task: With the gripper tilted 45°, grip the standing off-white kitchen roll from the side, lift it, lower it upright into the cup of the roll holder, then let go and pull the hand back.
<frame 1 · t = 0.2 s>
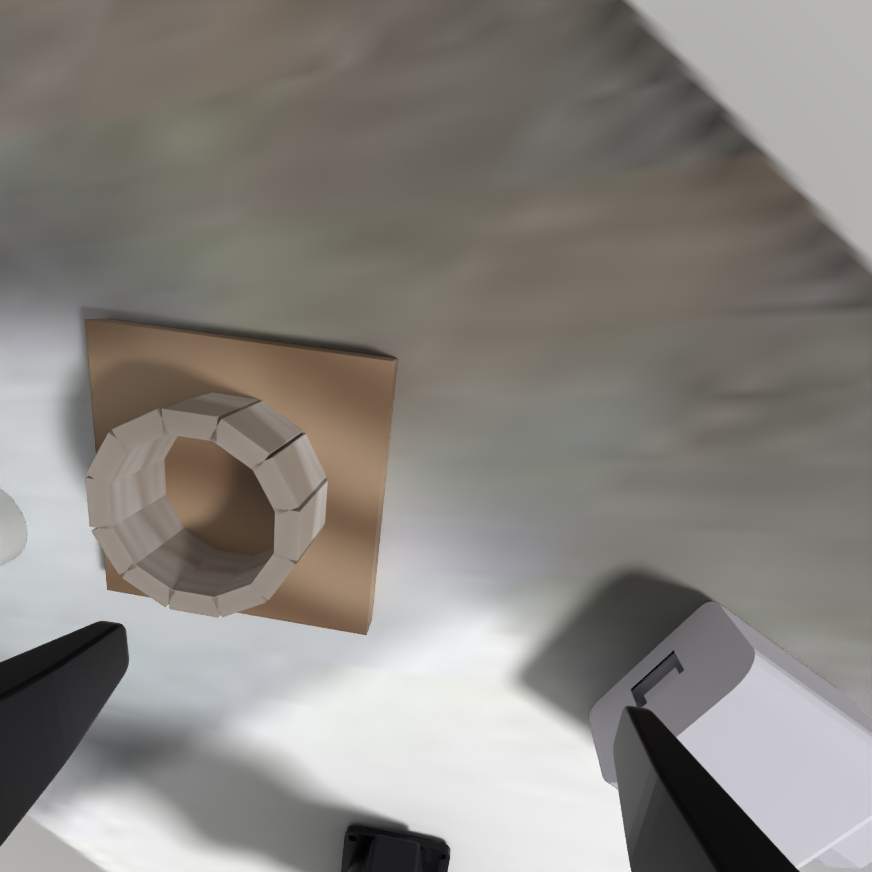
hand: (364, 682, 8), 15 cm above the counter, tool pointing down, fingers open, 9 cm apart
charger: (752, 727, 25), on the counter
roll holder: (247, 478, 24), on the counter
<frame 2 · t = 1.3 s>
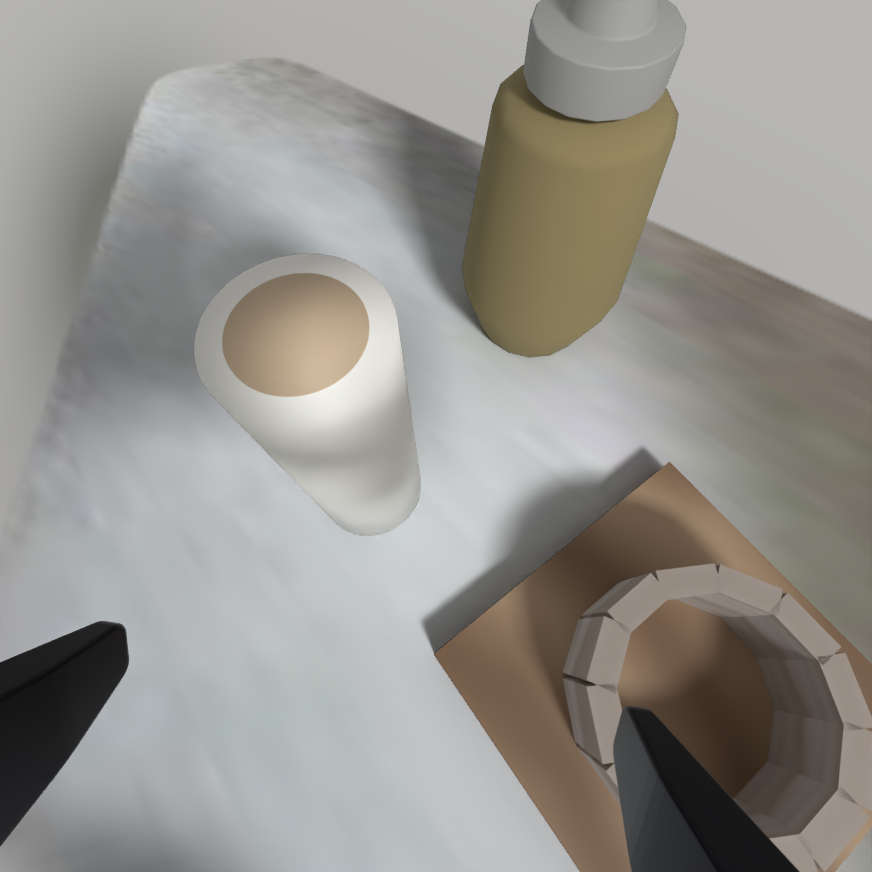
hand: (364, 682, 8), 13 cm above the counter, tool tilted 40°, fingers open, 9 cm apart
kitchen roll: (370, 485, 24), on the counter
roll holder: (666, 691, 20), on the counter
squeeze bottle: (528, 318, 28), on the counter
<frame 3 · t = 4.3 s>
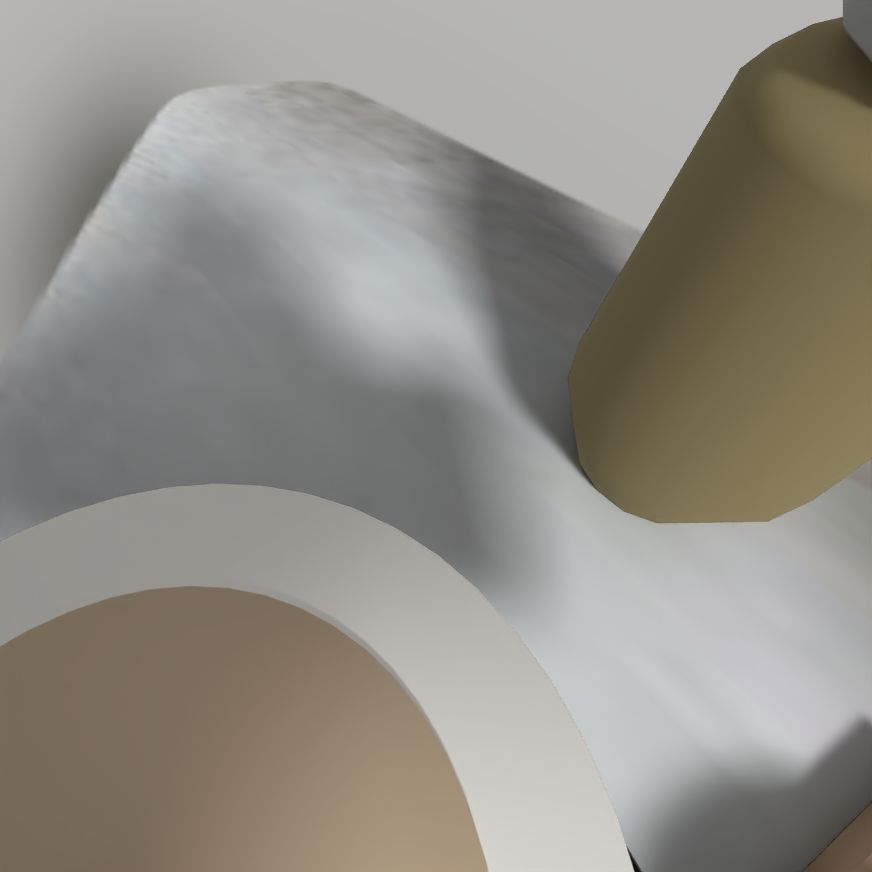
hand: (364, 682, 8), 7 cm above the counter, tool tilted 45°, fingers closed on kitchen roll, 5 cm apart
kitchen roll: (384, 740, 14), on the counter, touching gripper
squeeze bottle: (650, 453, 18), on the counter
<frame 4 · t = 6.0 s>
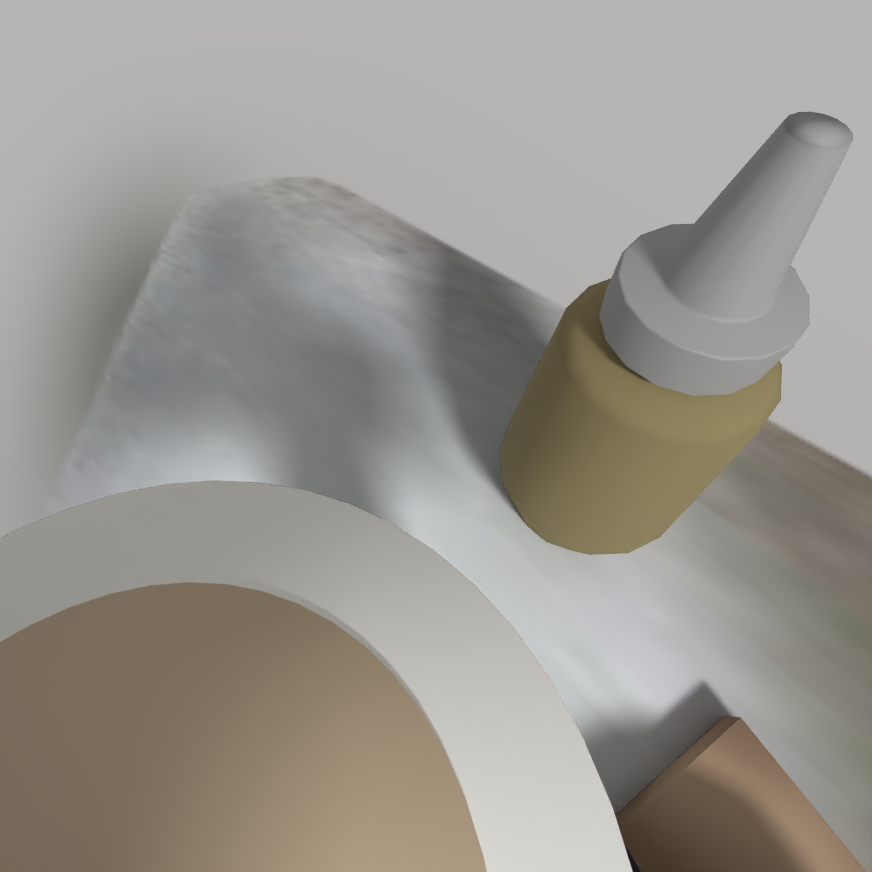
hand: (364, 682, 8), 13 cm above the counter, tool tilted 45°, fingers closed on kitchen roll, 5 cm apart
kitchen roll: (384, 739, 14), point 7 cm above the counter, touching gripper
squeeze bottle: (569, 495, 25), on the counter
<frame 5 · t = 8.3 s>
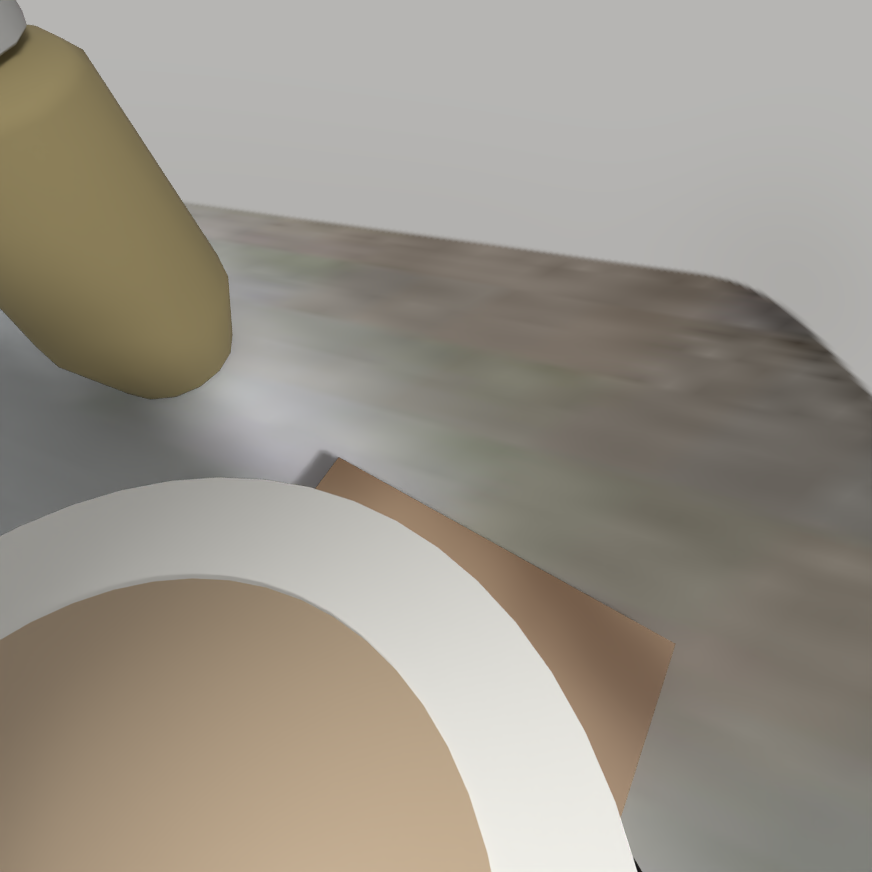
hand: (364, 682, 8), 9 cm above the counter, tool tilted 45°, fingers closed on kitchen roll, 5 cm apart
kitchen roll: (385, 738, 14), point 3 cm above the counter, touching gripper
roll holder: (393, 729, 16), on the counter
squeeze bottle: (176, 354, 24), on the counter
when the fingers open (9 cm above the counter, at t = 8.7 s): kitchen roll drops 1 cm, resting on roll holder.
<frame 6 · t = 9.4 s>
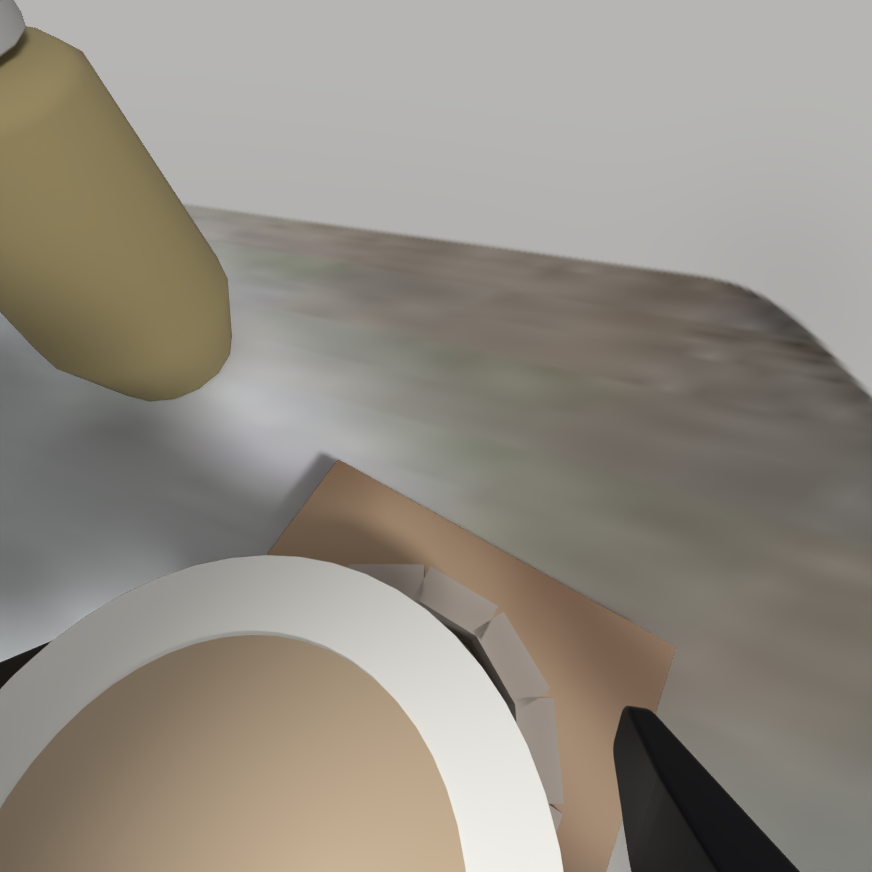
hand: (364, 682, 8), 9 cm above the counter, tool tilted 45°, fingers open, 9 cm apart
kitchen roll: (389, 737, 15), point 1 cm above the counter, touching roll holder
roll holder: (392, 732, 16), on the counter
squeeze bottle: (175, 356, 24), on the counter
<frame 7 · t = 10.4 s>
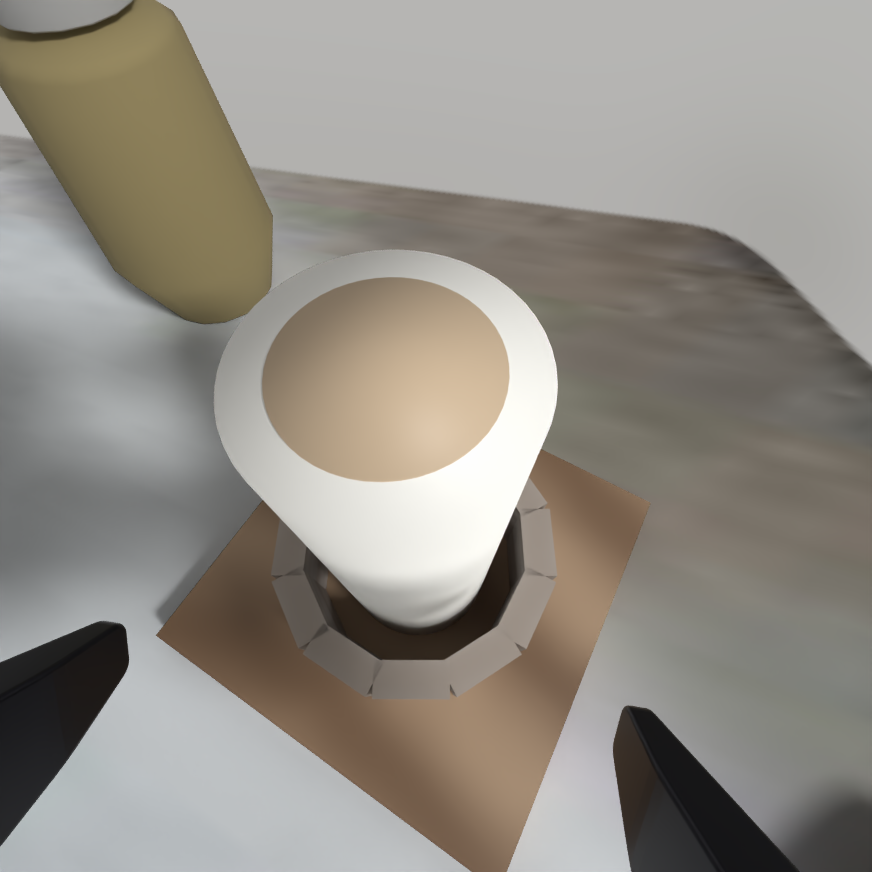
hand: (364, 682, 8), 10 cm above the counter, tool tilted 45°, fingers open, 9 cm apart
kitchen roll: (418, 565, 19), point 1 cm above the counter, touching roll holder
roll holder: (419, 571, 20), on the counter
squeeze bottle: (222, 289, 27), on the counter
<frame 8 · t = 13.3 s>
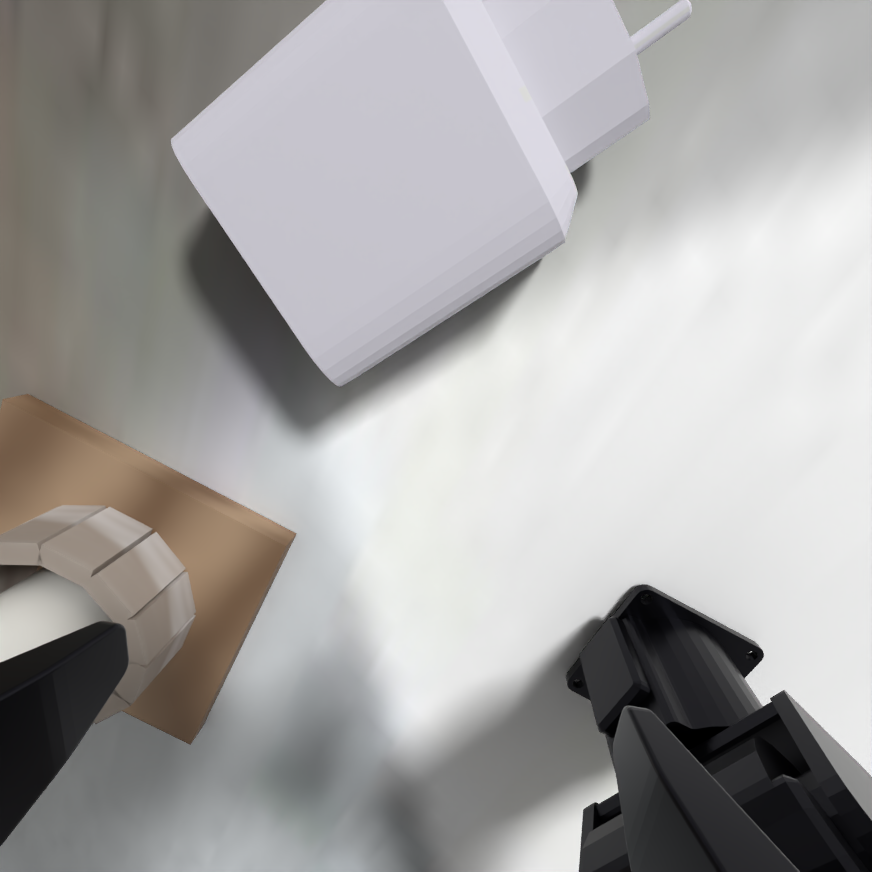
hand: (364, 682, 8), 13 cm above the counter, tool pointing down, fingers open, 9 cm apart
charger: (459, 163, 18), on the counter
kitchen roll: (106, 589, 23), point 1 cm above the counter, touching roll holder
roll holder: (123, 575, 24), on the counter
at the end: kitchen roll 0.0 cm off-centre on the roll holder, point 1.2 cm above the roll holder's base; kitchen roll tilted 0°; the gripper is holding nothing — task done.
